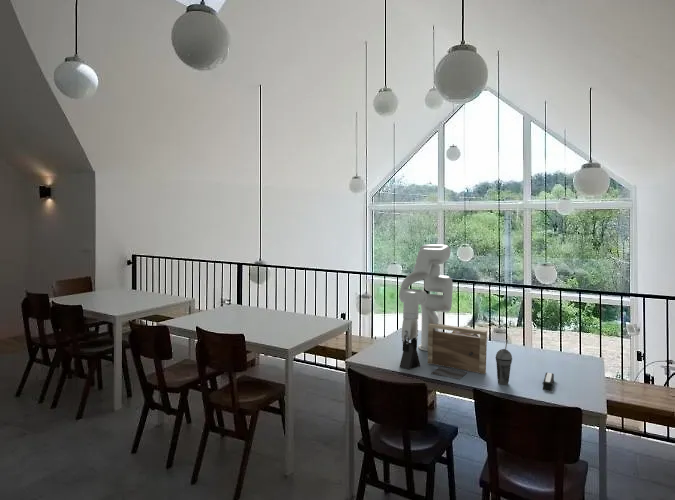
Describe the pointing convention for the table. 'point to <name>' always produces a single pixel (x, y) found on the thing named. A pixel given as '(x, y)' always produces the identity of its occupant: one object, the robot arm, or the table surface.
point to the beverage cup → (503, 365)
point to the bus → (548, 381)
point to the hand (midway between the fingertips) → (409, 349)
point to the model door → (456, 350)
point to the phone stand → (410, 358)
